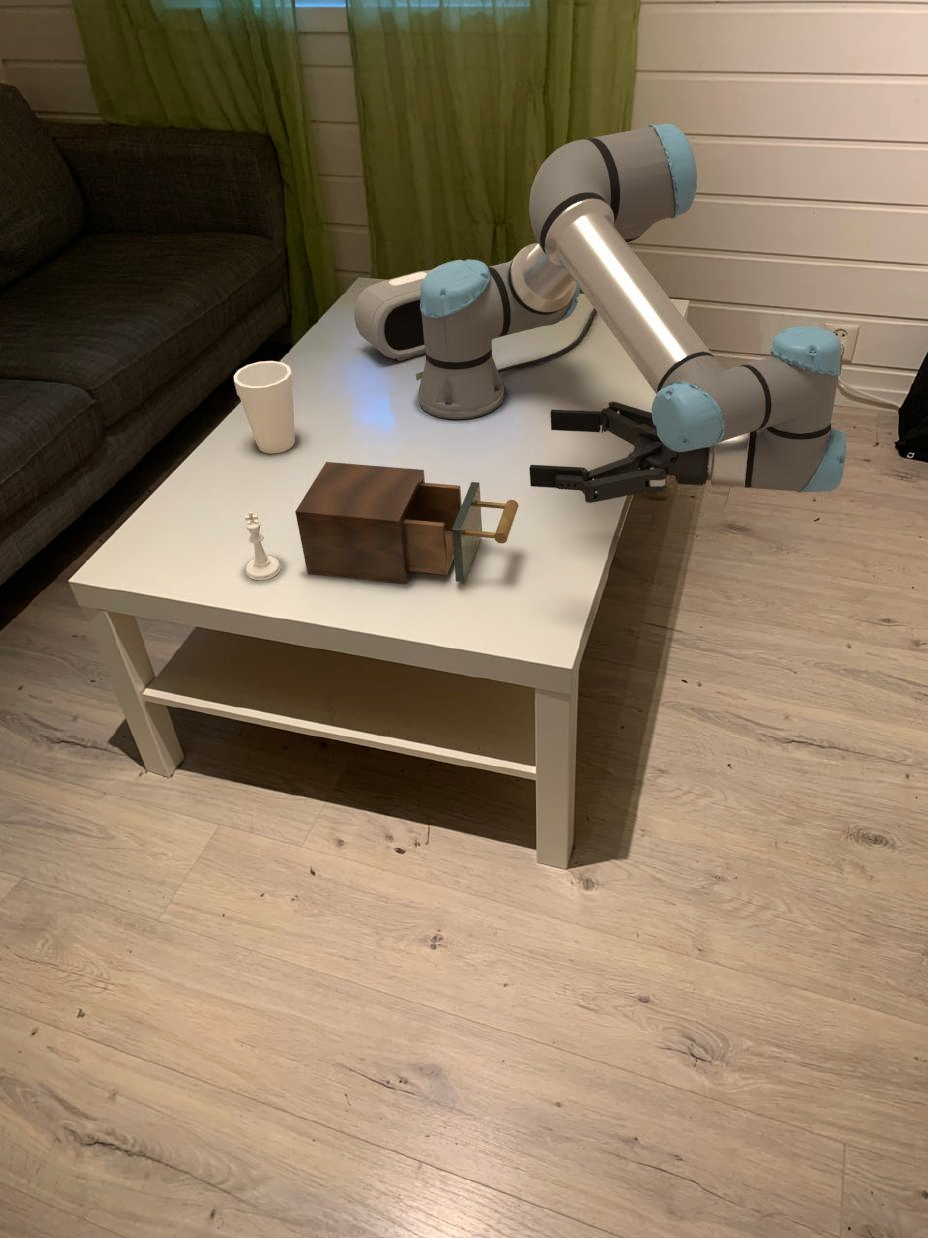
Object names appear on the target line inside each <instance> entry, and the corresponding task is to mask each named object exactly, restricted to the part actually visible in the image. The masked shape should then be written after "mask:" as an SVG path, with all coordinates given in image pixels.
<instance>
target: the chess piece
mask: <svg viewBox="0 0 928 1238" xmlns="http://www.w3.org/2000/svg"><path fill="white" fill-rule="evenodd" d="M258 519H259V516H258V514H253V511H248V515H245V516H244V520H245V521H247V523H246V524H245V528H246V529H247V531H248V532H249V534H250V535H249V536H248V541H249V543H251V544H253V547H254V548H253V549H254V558H253V559H251V560H250V561H249V562H248V563H247V565H246V568H245V570H246V575H247V577H248V578H249V579H251V580H255V581H266V580H269V579H271V578H274V577H276V576H277V575H278V574H279V573H280V571H281V564H280V561H279V559H277V558H276V557H275V556H271V555H266V552H265V549H264V546H263V544H262V542H263V541H264V539H265V536H264V535H263V534H262V533H261V531H260V530H261V521H259V520H258Z"/></svg>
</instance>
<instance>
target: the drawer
mask: <svg viewBox="0 0 928 1238" xmlns="http://www.w3.org/2000/svg"><path fill="white" fill-rule="evenodd" d="M480 486H481V485H480V482H479V481H471V482H470V485H469V486H468V489H467V492H466V493H465V496H464V499H463V501H462V490H461V485H459V484H445V483H435V482H434V483H433V482H425V483H423V482H421V483H420V485H419V487H418V489H417V491H416V493H415V496H414V498H413V500H412V502H411V504H410V506H409V508H408V510H407V512H406V514H405V516H404V518H403V521H402V532H403V541H404V549H405V558H406V566H407V571H412V572H416V573H425V574H435V575H446V576H447V575H449V571H450V569H451V566H452V563H453V562H454V563H453V564H454V575H455V576H454V577H455V582H457V583H458V582H459V583H465V580H466V578H467V576H468V573H469V570H470V567H471V565H472V562H473V560H474V557H475V554H476V552H477V548H478V546H479V543H480V541H481V539H482V538H485V539H494V541H495V542H496V543H498V544H506V543H507V542H508V539H509V536H510V533H511V530H512V527H513V523H514V521H515V518H516V515H517V513H518V509H519V503H518V501H517V500H515V499H509V500H507V501H506V502H493V501H492V502H491V501H481V487H480ZM482 508H487V509H488V508H489V509H500V510H503V511H502V514H501V516H500V519H499V521H498V525H497V527H496V530H495V531H484V530H483V522H482Z"/></svg>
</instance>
